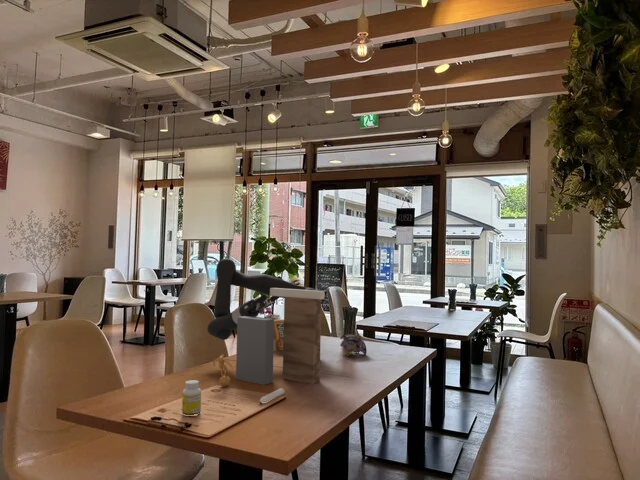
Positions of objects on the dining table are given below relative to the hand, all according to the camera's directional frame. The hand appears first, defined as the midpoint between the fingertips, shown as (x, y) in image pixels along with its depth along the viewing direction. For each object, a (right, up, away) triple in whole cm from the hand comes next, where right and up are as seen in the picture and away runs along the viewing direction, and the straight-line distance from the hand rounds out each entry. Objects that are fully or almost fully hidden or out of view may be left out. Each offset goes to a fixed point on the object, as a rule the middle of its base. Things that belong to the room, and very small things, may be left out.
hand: (272, 295), depth 199 cm
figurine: (-16, -31, -22) cm, 41 cm away
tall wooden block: (+12, -32, -9) cm, 35 cm away
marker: (+3, -31, -36) cm, 47 cm away
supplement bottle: (-19, -30, -52) cm, 63 cm away
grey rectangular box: (-6, -31, -11) cm, 34 cm away
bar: (+10, 0, -6) cm, 12 cm away
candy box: (-2, -34, +51) cm, 61 cm away
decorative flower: (+36, -34, +40) cm, 64 cm away
